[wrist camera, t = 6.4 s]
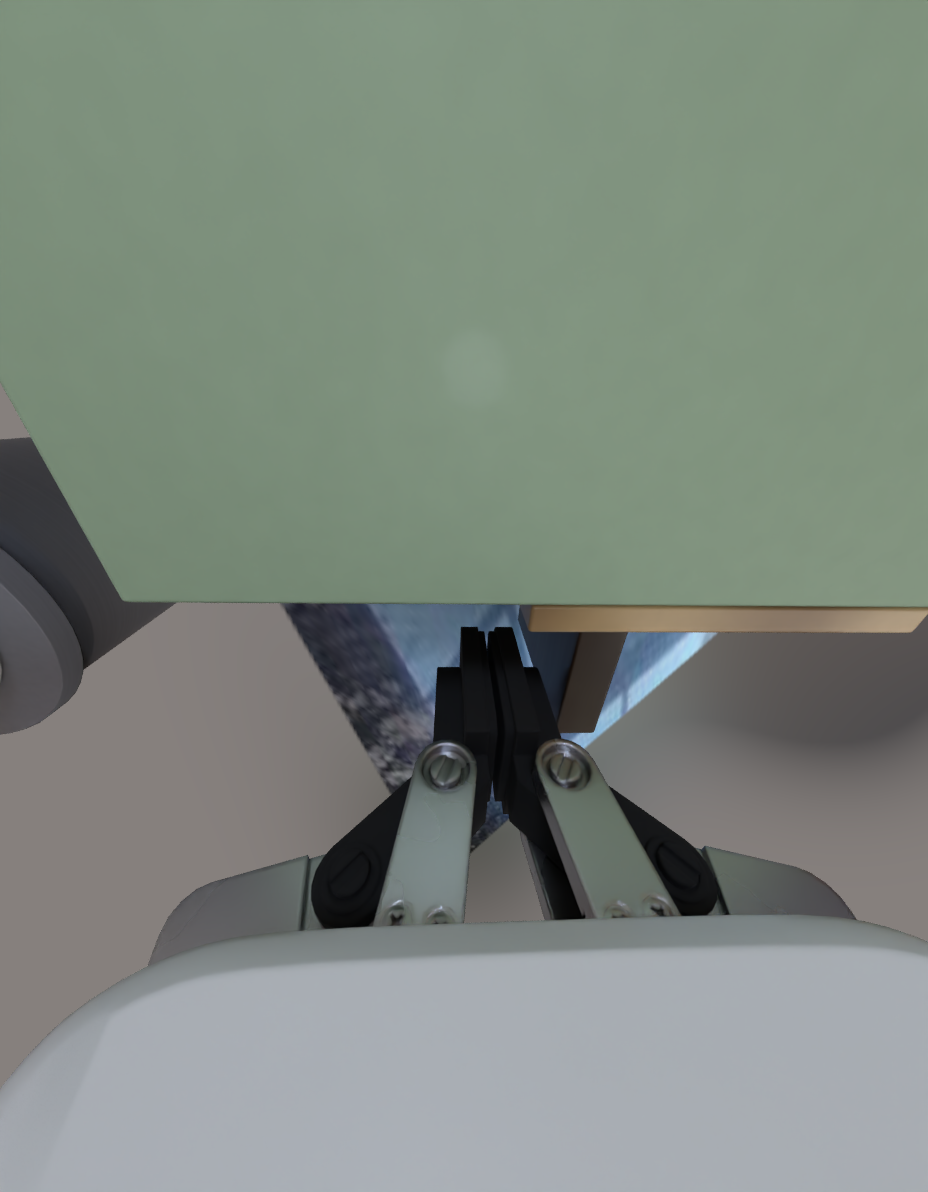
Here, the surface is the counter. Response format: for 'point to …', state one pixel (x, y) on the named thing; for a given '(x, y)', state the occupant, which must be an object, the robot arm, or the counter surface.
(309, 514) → the cupboard
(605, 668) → the sliding door
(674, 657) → the counter surface
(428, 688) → the counter surface
